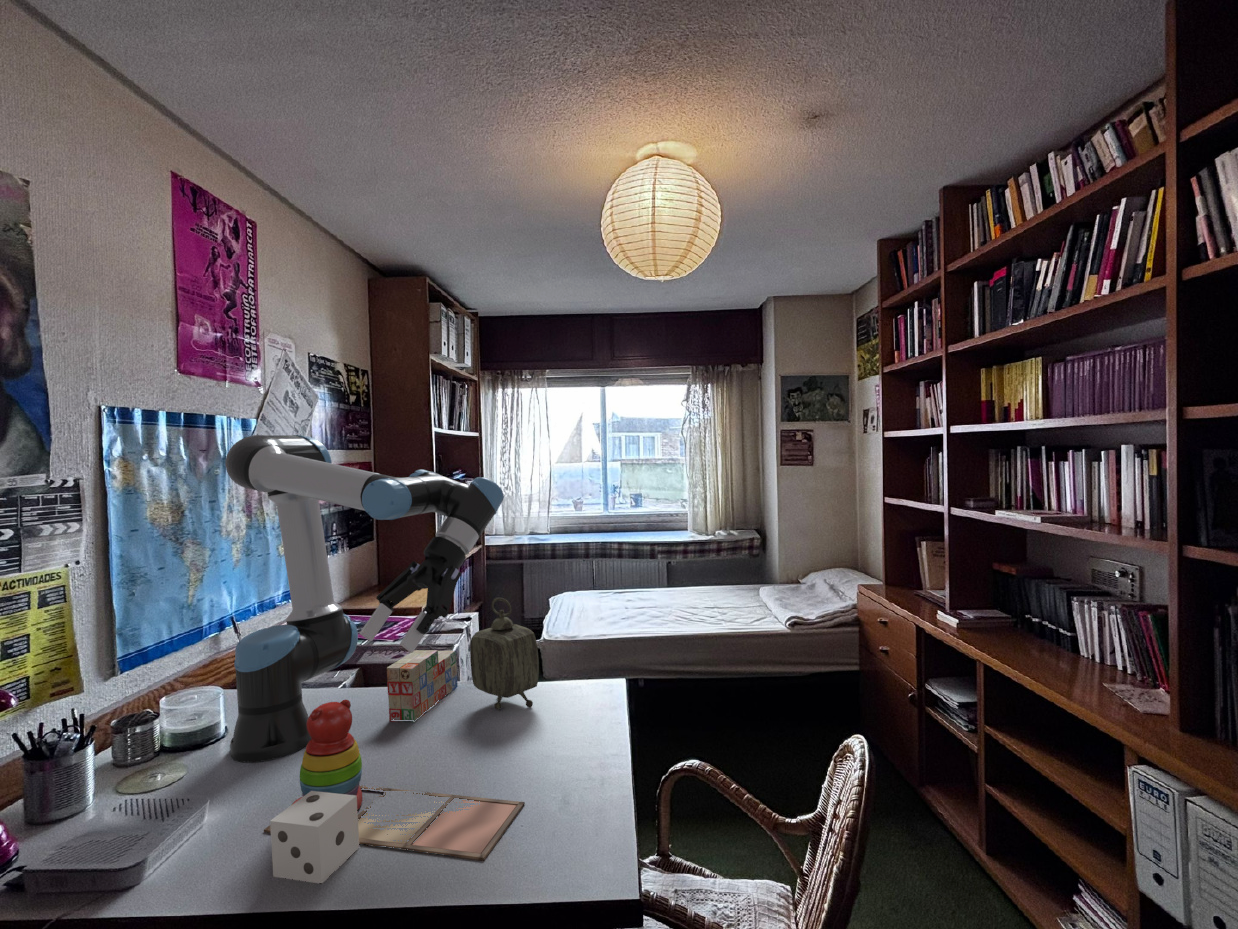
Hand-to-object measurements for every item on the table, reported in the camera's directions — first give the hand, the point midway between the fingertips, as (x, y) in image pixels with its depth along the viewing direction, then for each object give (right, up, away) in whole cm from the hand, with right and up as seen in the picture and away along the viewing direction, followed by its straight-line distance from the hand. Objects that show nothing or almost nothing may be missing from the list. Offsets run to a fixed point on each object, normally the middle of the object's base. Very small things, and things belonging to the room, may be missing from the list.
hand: (384, 643), depth 113 cm
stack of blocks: (-4, -25, +38) cm, 45 cm away
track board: (+6, -25, -11) cm, 28 cm away
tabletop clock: (+15, -24, +33) cm, 44 cm away
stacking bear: (-6, -26, -8) cm, 27 cm away
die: (-2, -26, -21) cm, 33 cm away
